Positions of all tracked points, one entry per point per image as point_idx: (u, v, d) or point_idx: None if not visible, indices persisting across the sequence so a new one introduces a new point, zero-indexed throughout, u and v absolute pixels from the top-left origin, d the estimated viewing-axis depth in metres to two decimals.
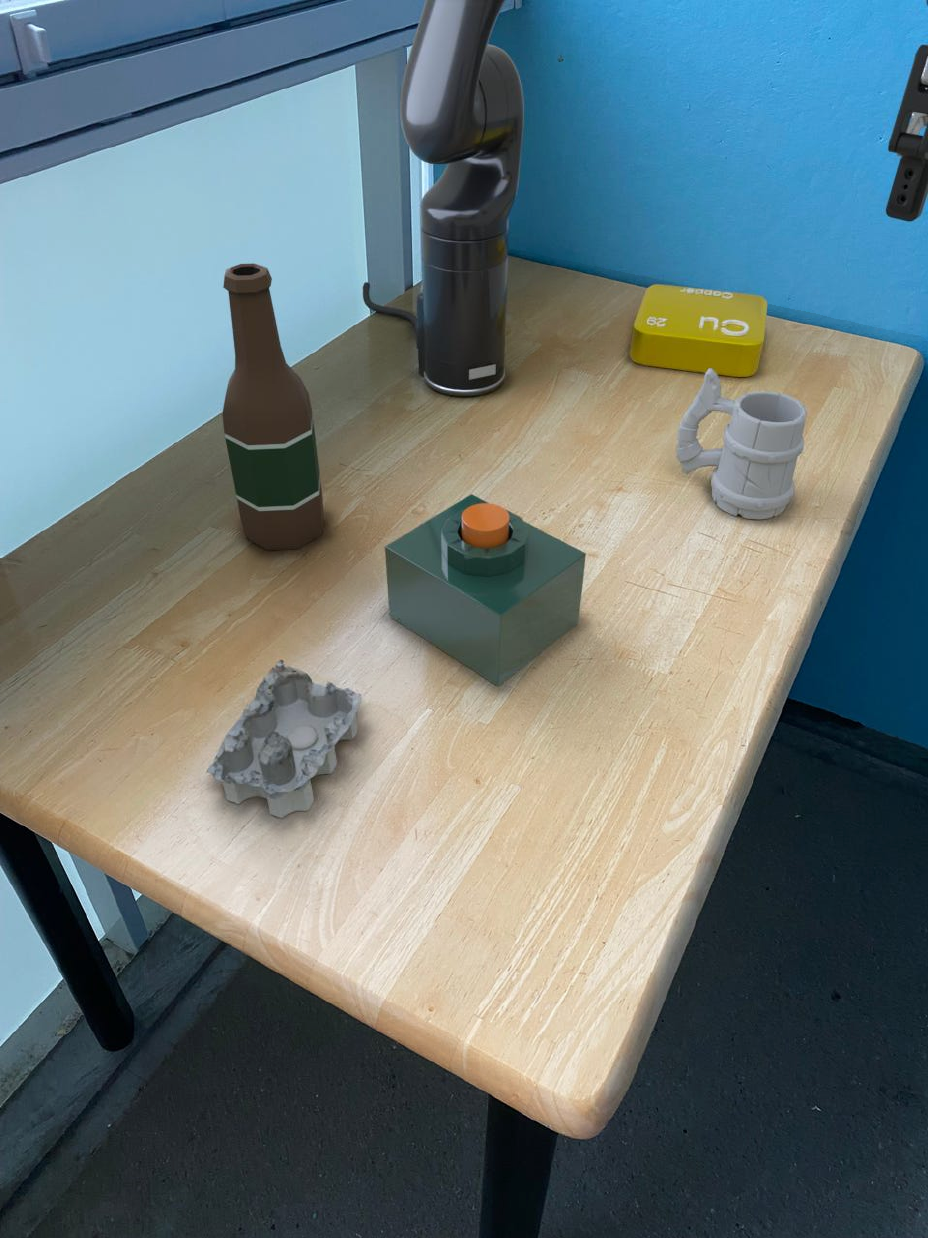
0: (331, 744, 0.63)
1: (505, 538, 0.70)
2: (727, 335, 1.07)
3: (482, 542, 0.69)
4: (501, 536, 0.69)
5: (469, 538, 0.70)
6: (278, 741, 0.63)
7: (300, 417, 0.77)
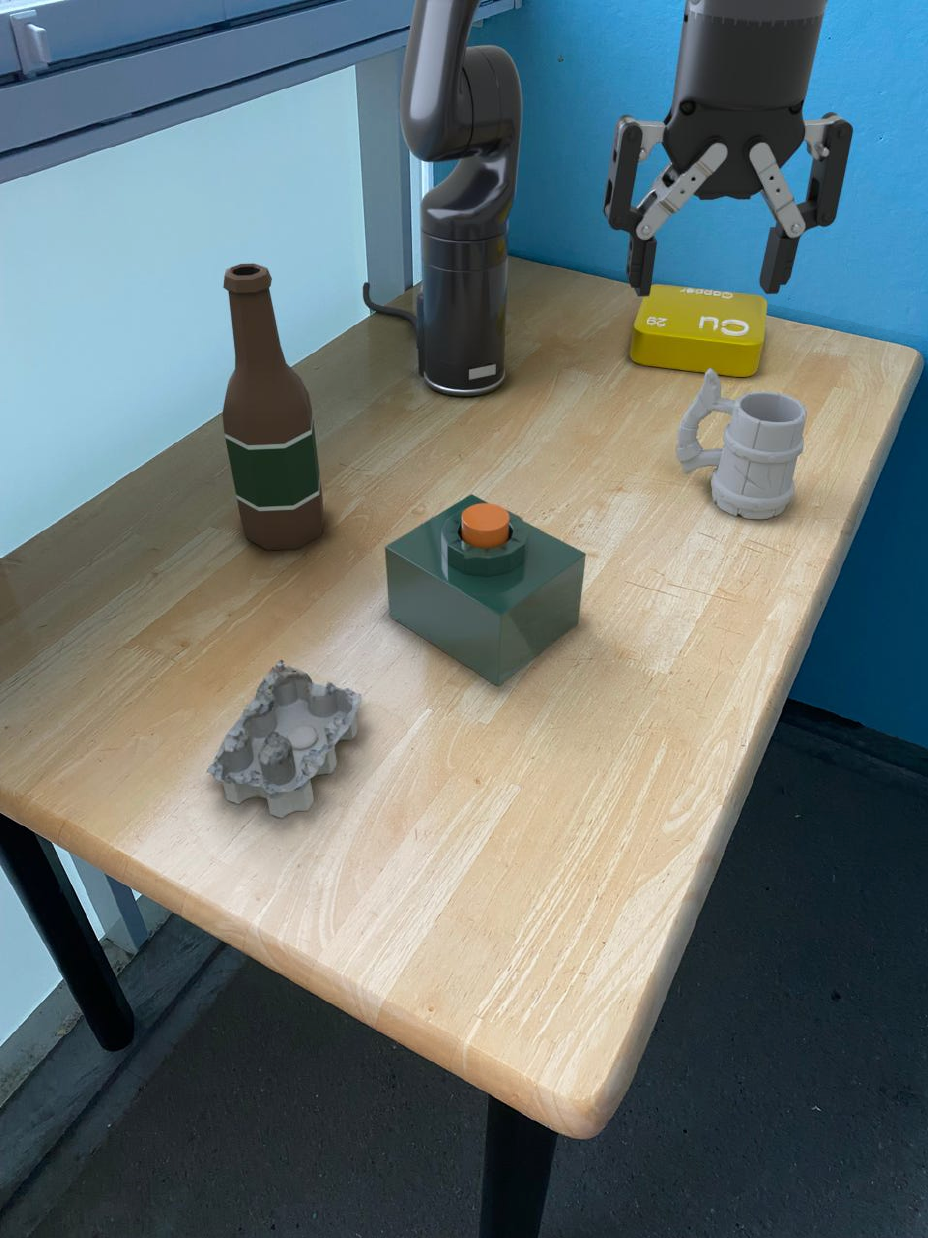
0: (331, 744, 0.63)
1: (505, 538, 0.70)
2: (727, 335, 1.07)
3: (482, 542, 0.69)
4: (501, 536, 0.69)
5: (469, 538, 0.70)
6: (278, 741, 0.63)
7: (300, 417, 0.77)
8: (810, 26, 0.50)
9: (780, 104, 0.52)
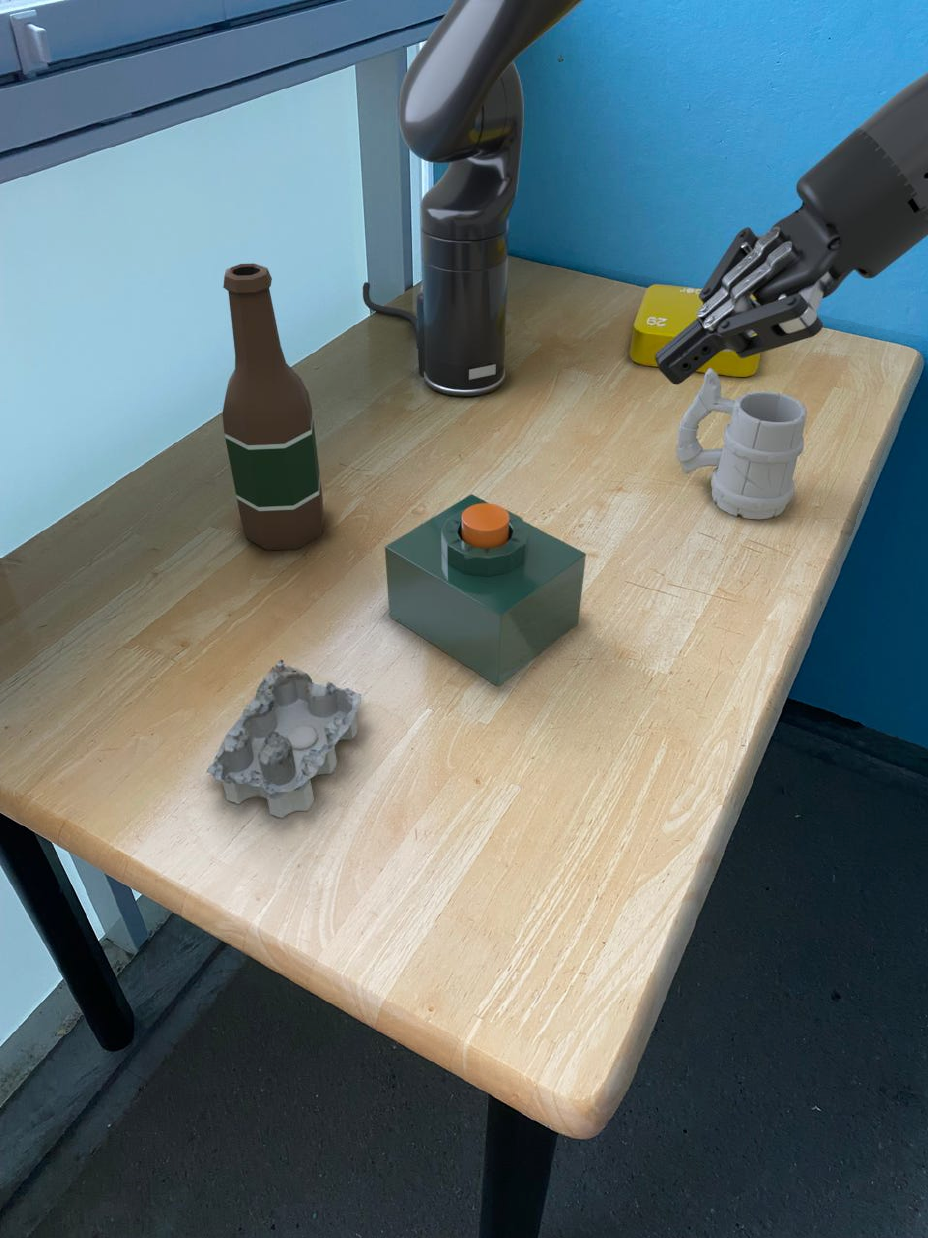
0: (331, 744, 0.63)
1: (505, 538, 0.70)
2: None
3: (482, 542, 0.69)
4: (501, 536, 0.69)
5: (469, 538, 0.70)
6: (278, 741, 0.63)
7: (300, 417, 0.77)
8: None
9: None
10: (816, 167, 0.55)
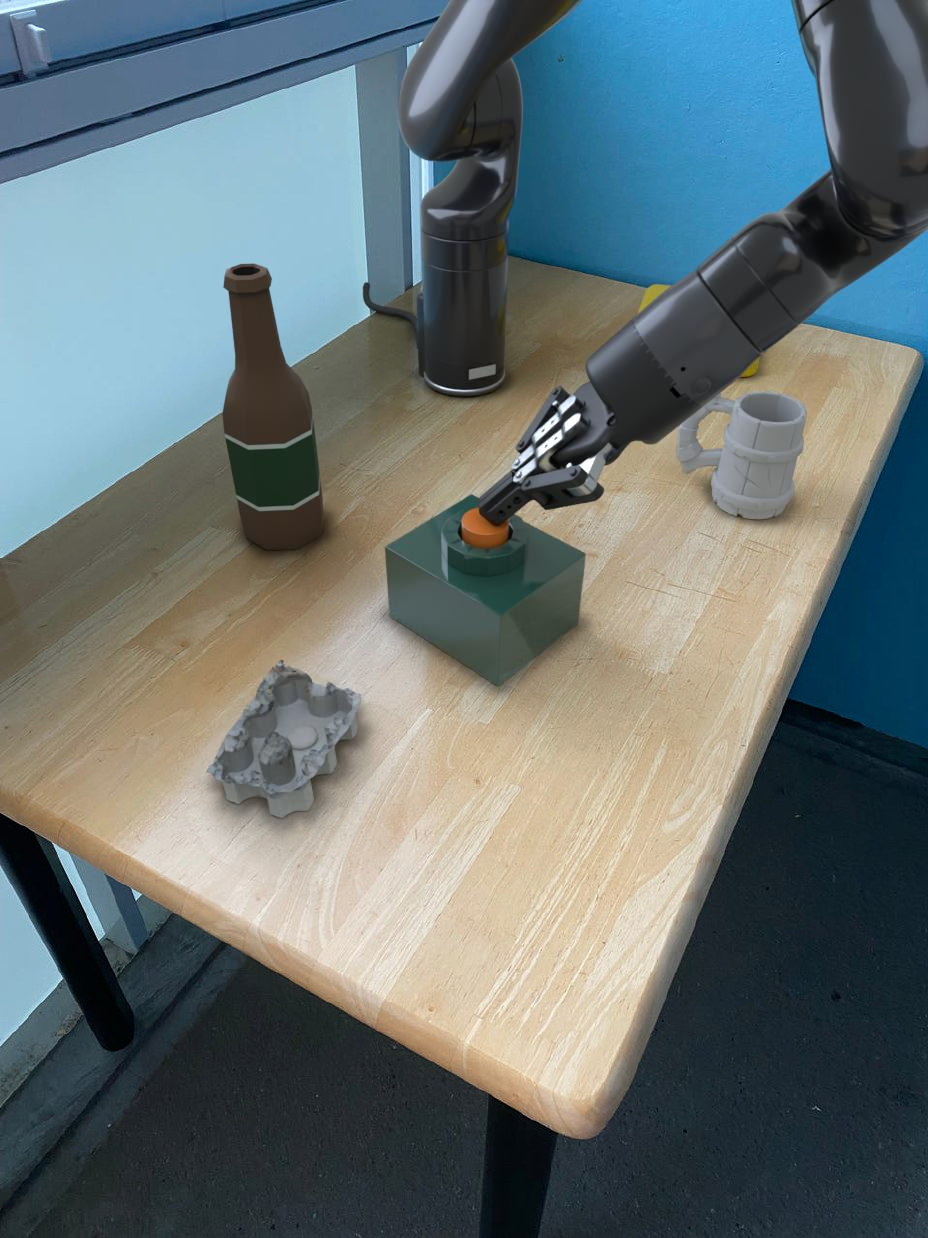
0: (331, 744, 0.63)
1: (505, 542, 0.70)
2: None
3: (481, 546, 0.69)
4: (501, 540, 0.70)
5: (469, 542, 0.70)
6: (278, 741, 0.63)
7: (300, 417, 0.77)
8: None
9: None
10: (598, 351, 0.62)
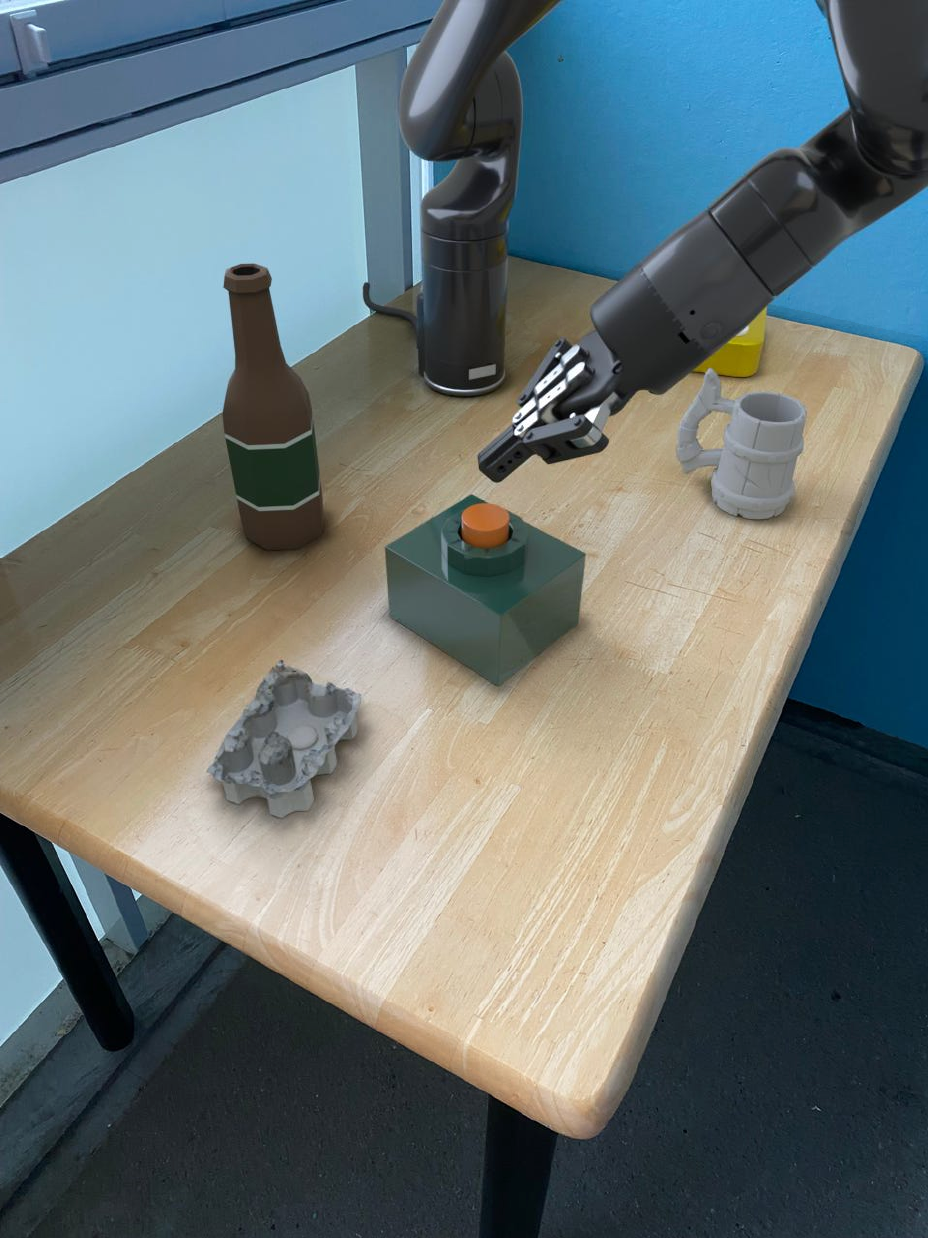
0: (331, 744, 0.63)
1: (505, 538, 0.70)
2: None
3: (482, 542, 0.69)
4: (501, 536, 0.69)
5: (469, 538, 0.70)
6: (278, 741, 0.63)
7: (300, 417, 0.77)
8: None
9: None
10: (604, 296, 0.59)
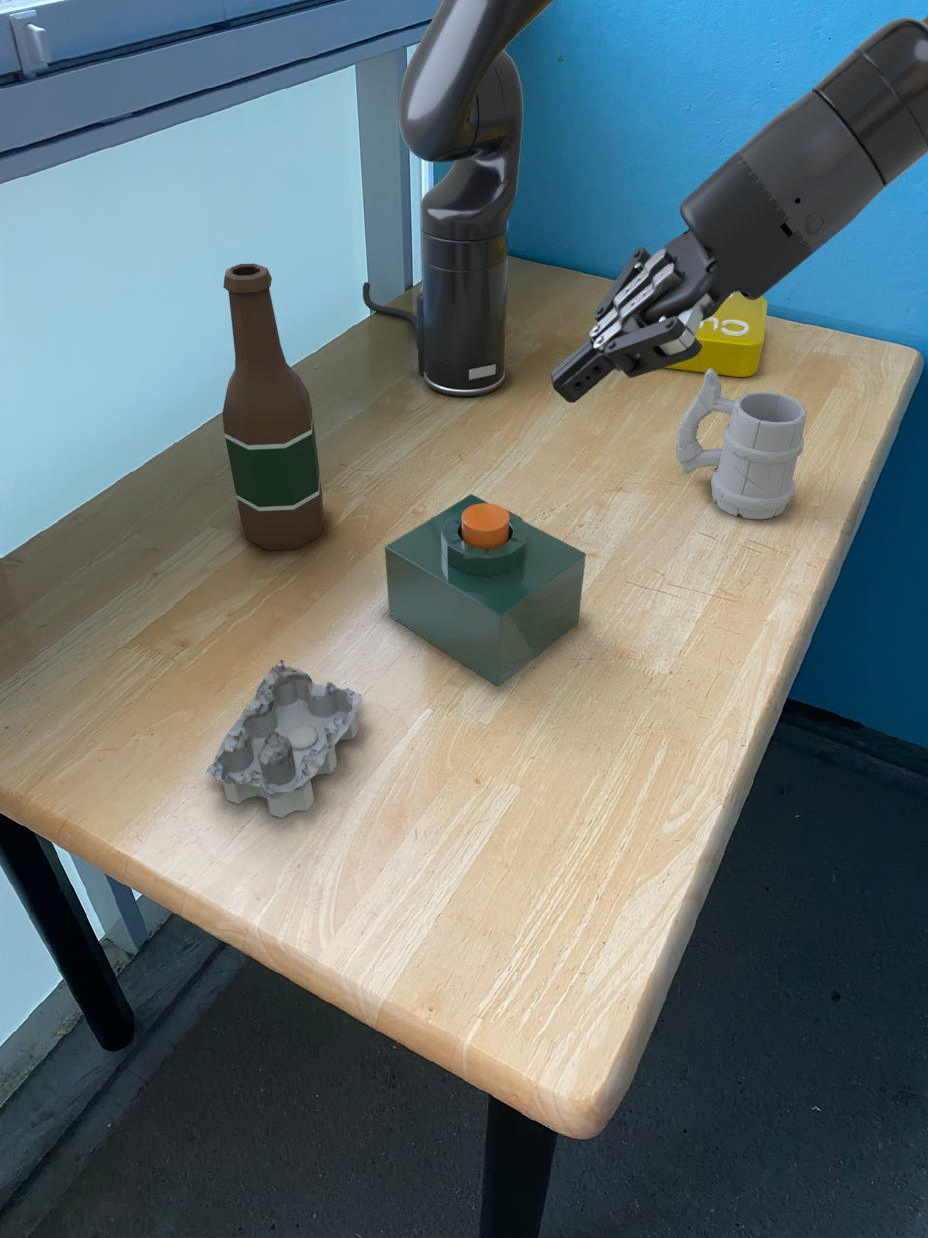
0: (331, 744, 0.63)
1: (505, 538, 0.70)
2: (727, 335, 1.07)
3: (482, 542, 0.69)
4: (501, 536, 0.69)
5: (469, 538, 0.70)
6: (278, 741, 0.63)
7: (300, 417, 0.77)
8: None
9: None
10: (696, 190, 0.55)
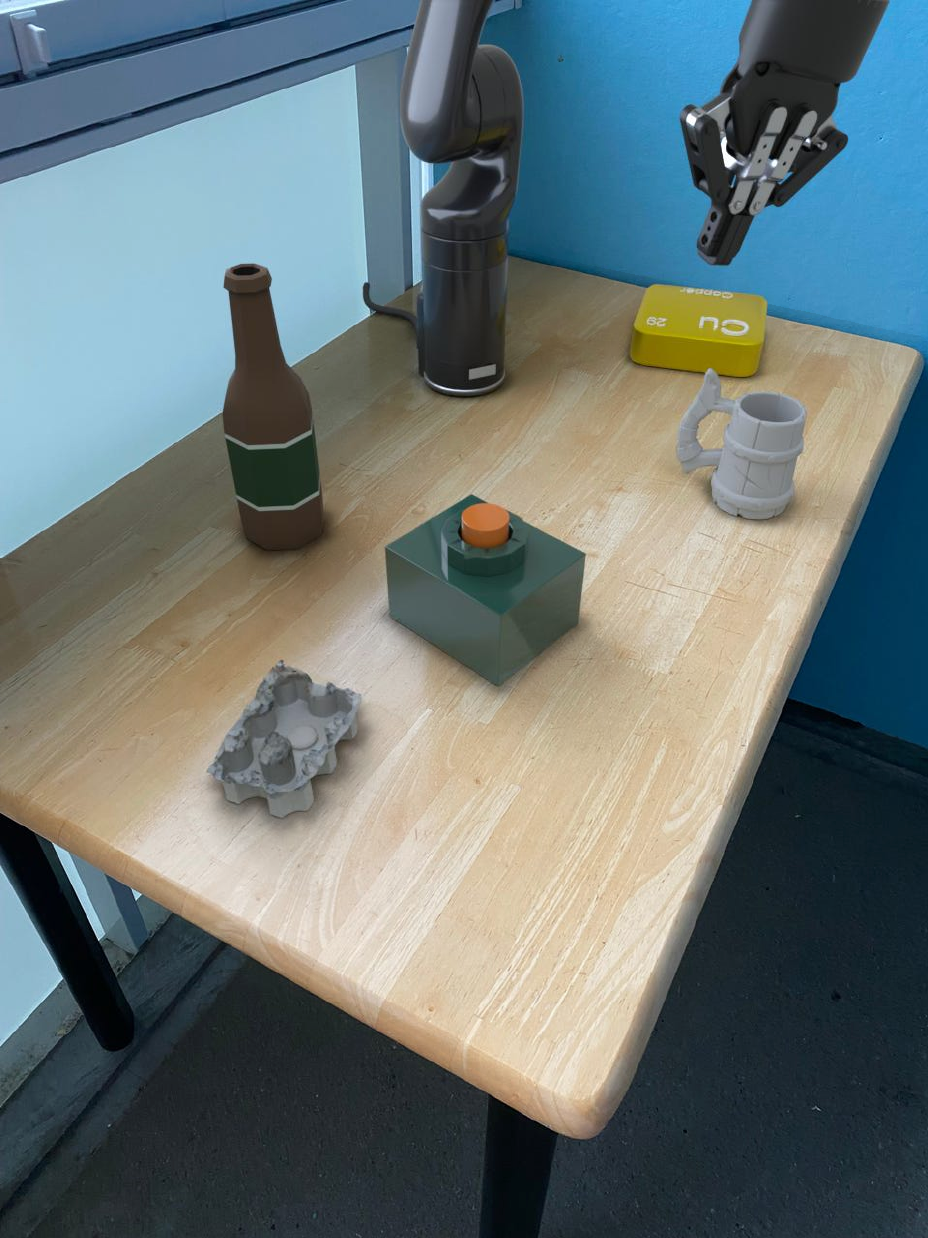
0: (331, 744, 0.63)
1: (505, 538, 0.70)
2: (727, 335, 1.07)
3: (482, 542, 0.69)
4: (501, 536, 0.69)
5: (469, 538, 0.70)
6: (278, 741, 0.63)
7: (300, 417, 0.77)
8: (885, 9, 0.54)
9: (848, 78, 0.56)
10: None
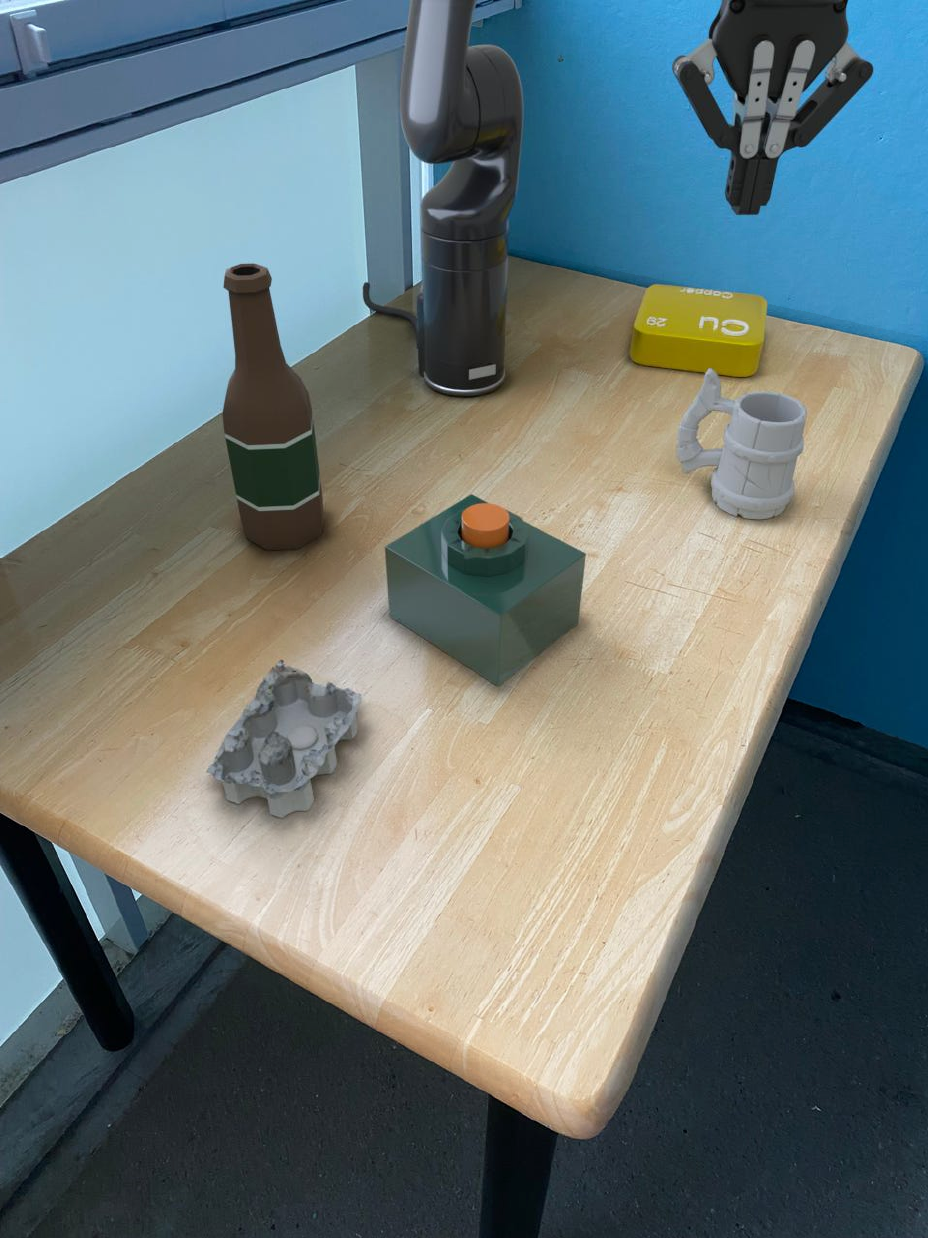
0: (331, 744, 0.63)
1: (505, 538, 0.70)
2: (727, 335, 1.07)
3: (482, 542, 0.69)
4: (501, 536, 0.69)
5: (469, 538, 0.70)
6: (278, 741, 0.63)
7: (300, 417, 0.77)
8: None
9: None
10: None
